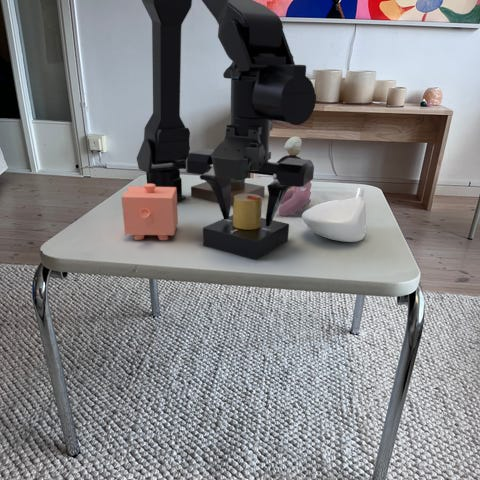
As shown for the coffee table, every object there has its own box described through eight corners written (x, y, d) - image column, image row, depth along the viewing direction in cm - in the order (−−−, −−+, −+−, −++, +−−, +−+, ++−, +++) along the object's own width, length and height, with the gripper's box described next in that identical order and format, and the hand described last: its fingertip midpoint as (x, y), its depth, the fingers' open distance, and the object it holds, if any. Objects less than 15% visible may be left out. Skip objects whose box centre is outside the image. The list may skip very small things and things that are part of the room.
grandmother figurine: (309, 201, 98) (316, 136, 92) (304, 206, 95) (310, 139, 89) (274, 196, 101) (278, 133, 94) (268, 201, 98) (272, 135, 91)
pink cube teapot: (121, 247, 74) (116, 195, 70) (135, 223, 84) (131, 175, 80) (172, 248, 74) (169, 196, 70) (179, 224, 85) (177, 176, 81)
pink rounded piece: (296, 226, 90) (317, 194, 87) (276, 213, 89) (295, 181, 86) (298, 210, 99) (316, 181, 95) (279, 199, 98) (297, 169, 95)
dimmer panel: (203, 245, 76) (202, 226, 74) (237, 229, 83) (237, 211, 82) (256, 260, 71) (257, 240, 70) (288, 241, 78) (289, 222, 77)
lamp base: (191, 197, 100) (190, 177, 98) (218, 187, 107) (218, 169, 105) (238, 207, 94) (239, 187, 92) (264, 196, 102) (265, 177, 100)
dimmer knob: (227, 226, 75) (228, 195, 73) (242, 219, 78) (243, 190, 76) (251, 231, 73) (252, 200, 71) (265, 224, 76) (267, 194, 74)
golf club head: (391, 186, 79) (346, 164, 72) (381, 249, 80) (336, 234, 72) (341, 192, 87) (296, 173, 80) (332, 250, 88) (287, 236, 80)
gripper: (164, 117, 64) (169, 228, 72) (296, 128, 58) (286, 248, 66) (202, 109, 73) (203, 209, 81) (320, 118, 67) (309, 225, 75)
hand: (247, 222), depth 75 cm, fingers open, 7 cm apart
